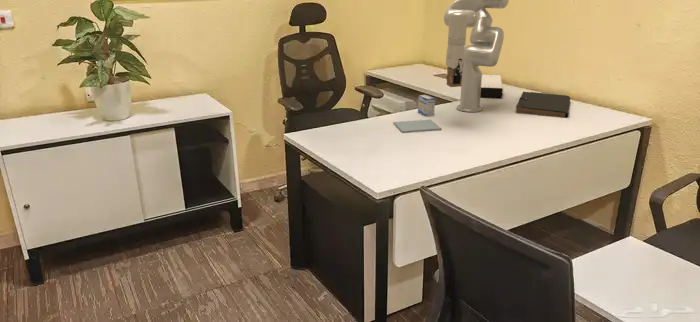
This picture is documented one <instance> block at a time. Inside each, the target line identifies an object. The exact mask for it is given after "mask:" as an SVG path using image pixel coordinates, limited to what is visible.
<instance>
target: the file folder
mask: <svg viewBox="0 0 700 322" xmlns="http://www.w3.org/2000/svg"><path fill="white" fill-rule="evenodd" d="M570 104H571V97H570V96H569V95H565V94H556V93H555V94H554V93H543V92H536V91H535V92H534V91H522V93H521V96H520V97H519V99H518V102H517V103H516V106H515V107H516V108H515V114H521V115H522V114H523V115H531V116H533V115H534V116H544V117H554V118H562V119H563V118H564V119H565V118H566V119H567V118H569V111H570Z"/></svg>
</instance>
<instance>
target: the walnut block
mask: <svg viewBox="0 0 700 322" xmlns="http://www.w3.org/2000/svg"><path fill="white" fill-rule="evenodd" d="M446 68H447V70H446V85H447V86H448V87H450V88H458V87H460V88H461V85H462V72H461V81H460V84H453V76H454V69H452V68H450V67H448V66H447V67H446ZM456 68H459V67H456ZM456 72H457V70H456Z"/></svg>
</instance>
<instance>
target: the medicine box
mask: <svg viewBox="0 0 700 322" xmlns="http://www.w3.org/2000/svg"><path fill="white" fill-rule="evenodd" d="M417 105H418V106H417V113H418V114H420V113H421V115H423V116H425V117H432V116H435V108H436V107H435V106H436V98H435V97H432V96H430V95H427V94H421V95H418V102H417Z"/></svg>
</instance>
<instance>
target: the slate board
mask: <svg viewBox="0 0 700 322" xmlns="http://www.w3.org/2000/svg"><path fill="white" fill-rule="evenodd" d="M393 125H394V126H395V127H396V128H397V129H398V130H399V132H401V133H402V134H405V133H406V134H408V133H417V132H418V133H420V132H422V133H423V132H431V131H432V132H433V131H434V132H435V131H442V127H440V126H439V125H438V124H437V123H436V122H434V121H433V120H432V119H419V120H417V119H416V120H403V121H393Z"/></svg>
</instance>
